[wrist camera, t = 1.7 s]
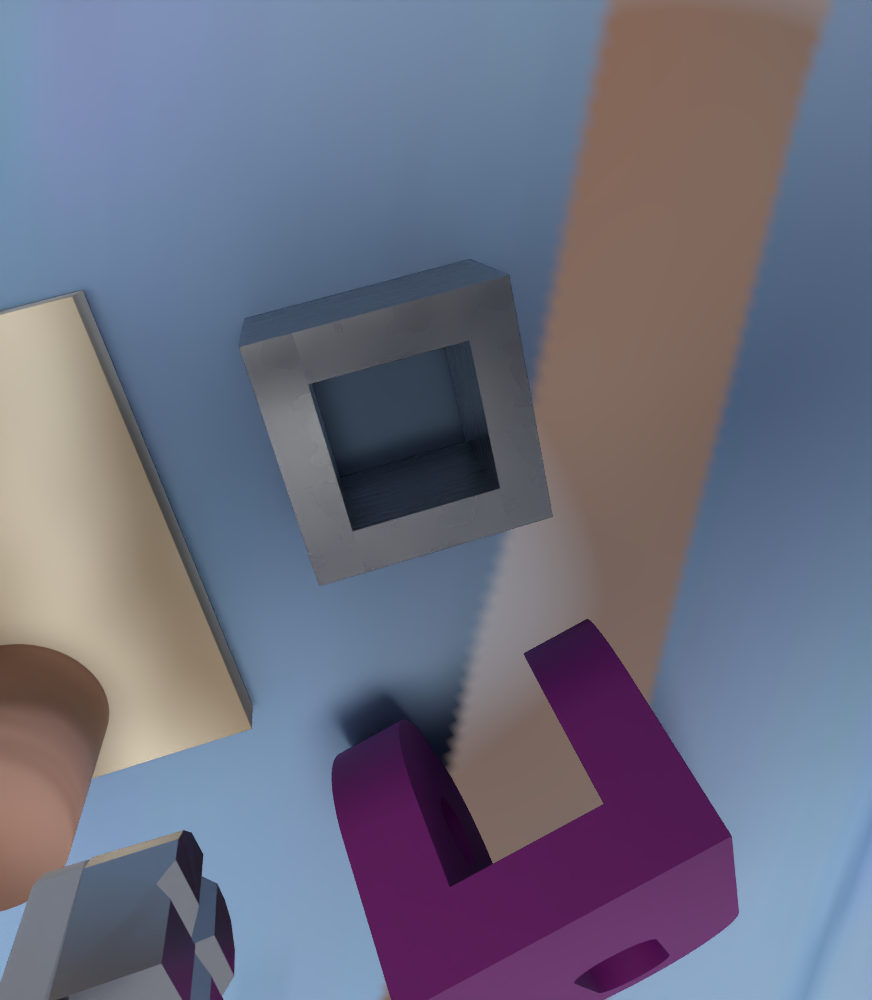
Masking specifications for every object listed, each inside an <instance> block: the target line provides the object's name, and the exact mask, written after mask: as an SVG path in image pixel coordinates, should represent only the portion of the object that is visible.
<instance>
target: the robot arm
mask: <svg viewBox="0 0 872 1000" xmlns="http://www.w3.org/2000/svg"><path fill="white" fill-rule="evenodd" d="M202 863H203V853H202V851H201V849H200V847H199V846H198V844H197V842H196V840H195V838H194V836H193V834H192V833H191V832H188V831H184V830H183V831H179V832H176V833H173V834H169V835H166V836H163V837H159V838H156V839H153V840H149V841H146V842H143V843H139V844H136V845H133V846H129V847H126V848H123V849H119V850H116V851H113V852H109V853H106V854H103V855H99V856H96V857H92V858H91V860H86V861H82V862H79V863H76V864H72V865H69V866H66V867H62V868H59V869H56V870H52V871H49V872H46V873H43V875H42V876H41V877H40V878H39V879H38V880H37V881H36V882H35V883H34V885H33V887H32V889H31V892H30V895H29V898H28V901H27V904H26V907H25V910H24V913H23V916H22V919H21V922H20V925H19V928H18V931H17V934H16V937H15V940H14V943H13V946H12V949H11V952H10V955H9V958H8V961H7V964H6V967H5V970H4V973H3V976H2V979H1V982H0V1000H223V998H222V995H223V994H224V992H225V990H226V989H227V987H228V985H229V984H230V982H231V980H232V979H233V977H234V959H235V948H234V941H233V933H232V925H231V919H230V916H229V913H228V909H227V906H226V903H225V899H224V897H223V895H222V893H221V891H220V889H219V886H218V884H217V883H215V882H213V881H211V880H209V879H206V878H204V877H202Z"/></svg>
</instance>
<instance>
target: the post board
mask: <svg viewBox="0 0 872 1000" xmlns="http://www.w3.org/2000/svg"><path fill="white" fill-rule="evenodd" d="M252 707H253V706H252V703H251V701H250V698H249V696H248V693H247V691H246V689H245V686H244V684H243V681H242V679H241V676H240V674H239V671H238V669H237V667H236V664H235V662H234V659H233V657H232V654H231V652H230V649H229V647H228V644H227V642H226V640H225V637H224V635H223V632H222V630H221V627H220V625H219V622H218V620H217V618H216V615H215V613H214V610H213V608H212V605H211V603H210V600H209V598H208V596H207V593H206V591H205V588H204V586H203V583H202V581H201V578H200V576H199V574H198V571H197V569H196V566H195V564H194V561H193V559H192V556H191V554H190V552H189V549H188V547H187V544H186V542H185V539H184V537H183V534H182V532H181V530H180V527H179V525H178V522H177V520H176V517H175V515H174V512H173V510H172V508H171V505H170V503H169V500H168V498H167V495H166V493H165V490H164V488H163V486H162V483H161V481H160V478H159V476H158V473H157V471H156V468H155V466H154V464H153V461H152V459H151V456H150V454H149V451H148V449H147V446H146V444H145V442H144V439H143V437H142V434H141V432H140V429H139V427H138V424H137V422H136V419H135V417H134V415H133V412H132V410H131V407H130V405H129V402H128V400H127V397H126V395H125V393H124V390H123V388H122V385H121V383H120V380H119V378H118V375H117V373H116V371H115V368H114V366H113V363H112V361H111V358H110V356H109V353H108V351H107V349H106V346H105V344H104V341H103V339H102V336H101V334H100V331H99V329H98V327H97V324H96V322H95V319H94V317H93V314H92V312H91V309H90V307H89V305H88V302H87V300H86V297H85V295H84V292H83V290H81V291H77V292H73V293H69V294H66V295H62V296H58V297H54V298H50V299H46V300H42V301H38V302H34V303H30V304H27V305H23V306H19V307H15V308H11V309H7V310H3V311H0V911H4V910H7V909H10V908H13V907H15V906H18V905H21V904H23V903H25V902H27V901H28V898H29V895H30V892H31V889H32V887H33V885H34V883H35V882H36V881H37V880H38V879H39V878H40V877H41V876H42V875H43V873H46V872H49V871H52V870H56V869H59V868H62V867H64V866H65V864H66V862H67V860H68V857H69V853H70V850H71V847H72V843H73V840H74V837H75V833H76V830H77V827H78V823H79V820H80V817H81V813H82V810H83V807H84V803H85V800H86V797H87V793H88V790H89V787H90V783H91V780H92V778H95V777H98V776H101V775H105V774H108V773H111V772H114V771H117V770H121V769H124V768H127V767H130V766H134V765H137V764H140V763H143V762H146V761H150V760H153V759H156V758H159V757H162V756H166V755H169V754H172V753H175V752H178V751H182V750H185V749H188V748H191V747H195V746H198V745H201V744H204V743H207V742H211V741H214V740H217V739H220V738H223V737H227V736H230V735H233V734H236V733H240V732H243V731H246V730H249V729H252Z"/></svg>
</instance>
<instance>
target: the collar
mask: <svg viewBox="0 0 872 1000" xmlns="http://www.w3.org/2000/svg"><path fill="white" fill-rule="evenodd" d="M443 347H445V351H446V356H447V360H448V365H449V369H450V374H451V378H452V383H453V387H454V392H455V396H456V401H457V405H458V409H459V414H460V418H461V423H462V427H463V432H464V436H465V441H466V442H463V443H459V444H456V445H452V446H449V447H445V448H442V449H438V450H435V451H431V452H428V453H424V454H420V455H417V456H413V457H410V458H406V459H403V460H399V461H396V462H392V463H389V464H385V465H382V466H378V467H375V468H371V469H368V470H364V471H361V472H357V473H354V474H350V475H347V476H343V477H340V475H339V472H338V468H337V465H336V462H335V458H334V455H333V452H332V449H331V445H330V442H329V439H328V435H327V432H326V429H325V425H324V422H323V419H322V415H321V412H320V409H319V405H318V402H317V399H316V396H315V392H314V389H313V386H312V383H315V382H319V381H323V380H326V379H330V378H334V377H337V376H341V375H344V374H348V373H352V372H355V371H359V370H363V369H366V368H370V367H374V366H377V365H381V364H385V363H388V362H392V361H396V360H399V359H403V358H407V357H410V356H414V355H418V354H421V353H425V352H429V351H432V350H436V349H440V348H443ZM239 349H240V352H241V355H242V358H243V361H244V364H245V367H246V370H247V373H248V376H249V379H250V382H251V385H252V388H253V391H254V394H255V397H256V400H257V403H258V406H259V409H260V412H261V414H262V417H263V420H264V423H265V426H266V429H267V432H268V435H269V438H270V441H271V444H272V447H273V450H274V453H275V456H276V459H277V462H278V465H279V468H280V471H281V474H282V477H283V480H284V483H285V486H286V489H287V492H288V495H289V498H290V501H291V504H292V507H293V510H294V513H295V516H296V519H297V522H298V525H299V528H300V531H301V534H302V536H303V539H304V542H305V545H306V548H307V551H308V554H309V557H310V560H311V563H312V566H313V569H314V572H315V575H316V578H317V581H318V584H319V586H322V585H325V584H329V583H332V582H335V581H339V580H342V579H345V578H349V577H352V576H355V575H359V574H362V573H366V572H369V571H372V570H376V569H379V568H382V567H386V566H389V565H392V564H396V563H399V562H403V561H406V560H409V559H413V558H416V557H419V556H423V555H426V554H429V553H433V552H436V551H440V550H443V549H446V548H450V547H453V546H456V545H460V544H463V543H466V542H470V541H473V540H477V539H480V538H483V537H487V536H490V535H493V534H497V533H500V532H503V531H507V530H510V529H514V528H517V527H520V526H524V525H527V524H530V523H533V522H537V521H540V520H544V519H547V518H550V517H553V515H552V510H551V504H550V498H549V493H548V488H547V482H546V476H545V471H544V465H543V460H542V455H541V449H540V443H539V438H538V432H537V427H536V421H535V416H534V410H533V404H532V399H531V393H530V388H529V382H528V377H527V371H526V366H525V360H524V355H523V349H522V344H521V338H520V333H519V327H518V322H517V316H516V310H515V305H514V299H513V294H512V288H511V283H510V277H509V275H508V274H505V273H503V272H500V271H498V270H495V269H493V268H490V267H488V266H485V265H483V264H481V263H478V262H476V261H473V260H471V259H469V260H465V261H461V262H457V263H453V264H450V265H446V266H442V267H438V268H435V269H431V270H427V271H423V272H419V273H416V274H412V275H408V276H404V277H400V278H397V279H393V280H389V281H385V282H382V283H378V284H374V285H370V286H366V287H363V288H359V289H355V290H351V291H347V292H344V293H340V294H336V295H332V296H329V297H325V298H321V299H317V300H313V301H310V302H306V303H302V304H298V305H294V306H291V307H287V308H283V309H279V310H276V311H272V312H268V313H264V314H260V315H257V316H253V317H249V318H245V319H244V324H243V329H242V334H241V339H240V344H239Z"/></svg>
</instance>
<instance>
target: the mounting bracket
mask: <svg viewBox="0 0 872 1000" xmlns="http://www.w3.org/2000/svg"><path fill="white" fill-rule="evenodd" d="M524 655H525V657H526V659H527V661H528V663H529V665H530V667H531V669H532V671H533V673H534V675H535V677H536V678H537V681H538V682H539V684H540V686H541V688H542V690H543V691H544V694H545V696H546V697H547V699H548V701H549V703H550V705H551V707H552V709H553V711H554V712H555V714H556V716H557V718H558V720H559V722H560V724H561V725H562V727H563V729H564V731H565V733H566V735H567V736H568V738H569V740H570V742H571V744H572V746H573V748H574V750H575V751H576V753H577V755H578V757H579V759H580V761H581V763H582V764H583V766H584V768H585V770H586V772H587V774H588V775H589V777H590V779H591V781H592V783H593V785H594V787H595V788H596V790H597V792H598V794H599V796H600V798H601V799H602V801H603V803H604V804H603V805H601V806H599V807H597V808H596V809H594V810H592V811H590V812H588V813H586V814H584V815H583V816H581V817H579V818H577V819H576V820H573V821H572V822H570V823H568V824H566V825H564V826H562V827H560V828H559V829H557V830H555V831H553V832H551V833H549V834H548V835H546V836H544V837H542V838H540V839H538V840H536V841H534V842H533V843H531V844H529V845H527V846H525V847H523V848H522V849H520V850H518V851H516V852H514V853H512V854H510V855H509V856H507V857H505V858H503V859H501V860H499V861H497V862H496V863H494V864H493V863H492V861H491V858H490V856H489V854H488V851H487V849H486V847H485V844H484V842H483V840H482V838H481V835H480V833H479V831H478V829H477V827H476V825H475V822H474V820H473V818H472V816H471V814H470V812H469V810H468V808H467V806H466V804H465V802H464V801H463V798H462V796H461V795H460V793H459V791H458V789H457V787H456V785H455V783H454V782H453V780H452V778H451V776H450V775H449V773H448V772H447V770H446V769H445V768H444V766H443V765H442V763H441V762H440V760H439V759H438V757H437V756H436V754H435V753H434V751H433V750H432V748H431V747H430V745H429V744H428V742H427V741H426V739H425V738H424V736H423V735H422V733H421V732H420V731H419V729H418V728H417V727H416V726H415V725H414V724H412V723H411V722H410V721H408V720H406V719H403V720H401V721H399V722H397V723H395V724H393V725H391V726H390V727H388V728H386V729H384V730H382V731H380V732H379V733H377V734H375V735H373V736H371V737H369V738H368V739H366V740H364V741H362V742H360V743H358V744H356V745H355V746H353V747H351V748H349V749H347V750H345V751H344V752H342V753H340V754H338V755H337V756H336V758H335V760H334V763H333V767H332V791H333V798H334V804H335V809H336V814H337V819H338V823H339V827H340V830H341V834H342V838H343V841H344V844H345V848H346V851H347V854H348V858H349V861H350V864H351V868H352V871H353V874H354V878H355V881H356V884H357V888H358V891H359V894H360V898H361V901H362V904H363V907H364V911H365V914H366V917H367V921H368V924H369V927H370V931H371V934H372V937H373V941H374V944H375V947H376V951H377V954H378V957H379V961H380V964H381V967H382V971H383V974H384V977H385V981H386V984H387V987H388V991H389V994H390V997H391V1000H604V999H606V998H608V997H610V996H612V995H614V994H616V993H618V992H620V991H622V990H624V989H626V988H628V987H630V986H632V985H634V984H636V983H638V982H640V981H642V980H643V979H645V978H647V977H649V976H651V975H653V974H654V973H656V972H658V971H660V970H662V969H663V968H665V967H667V966H669V965H670V964H672V963H674V962H675V961H677V960H679V959H680V958H682V957H684V956H685V955H687V954H689V953H690V952H692V951H693V950H695V949H696V948H698V947H700V946H701V945H703V944H704V943H706V942H707V941H708V940H710V939H711V938H713V937H714V936H716V935H717V934H718V933H720V932H721V931H722V930H723V929H725V928H726V927H727V926H728V925H729V924H731V923H732V922H733V921H734V920H735V918H736V917H737V916H738V914H739V909H738V898H737V887H736V877H735V866H734V855H733V845H732V836H731V834H730V833H729V831H728V830H727V828H726V826H725V825H724V823H723V822H722V820H721V818H720V817H719V815H718V814H717V812H716V811H715V809H714V807H713V806H712V804H711V803H710V801H709V800H708V798H707V796H706V795H705V793H704V792H703V790H702V788H701V787H700V785H699V784H698V782H697V781H696V779H695V777H694V776H693V774H692V773H691V771H690V769H689V768H688V766H687V765H686V763H685V762H684V760H683V758H682V757H681V755H680V754H679V752H678V750H677V749H676V747H675V746H674V744H673V743H672V741H671V739H670V738H669V736H668V735H667V733H666V732H665V730H664V728H663V727H662V725H661V724H660V722H659V720H658V719H657V717H656V716H655V714H654V713H653V711H652V709H651V708H650V706H649V705H648V703H647V701H646V700H645V698H644V697H643V695H642V694H641V692H640V690H639V689H638V687H637V686H636V684H635V683H634V681H633V679H632V678H631V676H630V675H629V673H628V672H627V670H626V669H625V667H624V666H623V664H622V662H621V661H620V659H619V658H618V657H617V655H616V654H615V652H614V651H613V649H612V648H611V646H610V645H609V643H608V642H607V641H606V639H605V638H604V637H603V635H602V634H601V633H600V632H599V630H598V629H597V628H596V626H595V625H594V624H593V623H592V622H591V621H590V620H588V619H586V620H584V621H583V622H581V623H579V624H577V625H575V626H573V627H571V628H570V629H568V630H566V631H564V632H562V633H561V634H559V635H557V636H555V637H553V638H551V639H550V640H547V641H546V642H544V643H542V644H540V645H538V646H536V647H535V648H533V649H531V650H529V651H528V652H525V653H524Z"/></svg>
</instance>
